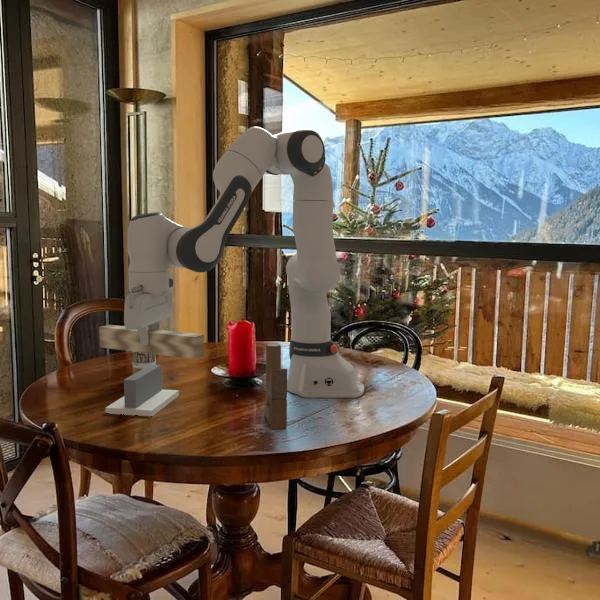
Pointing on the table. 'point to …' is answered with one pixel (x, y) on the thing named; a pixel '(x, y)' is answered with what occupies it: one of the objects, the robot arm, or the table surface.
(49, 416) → the table surface
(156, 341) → the beige zigzag bar
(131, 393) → the ridge stand
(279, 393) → the wooden block
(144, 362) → the grey brown tall cylinder
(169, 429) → the table surface
